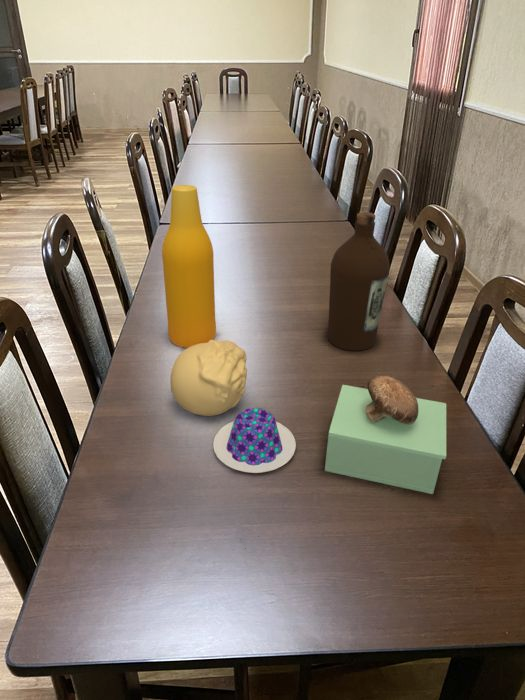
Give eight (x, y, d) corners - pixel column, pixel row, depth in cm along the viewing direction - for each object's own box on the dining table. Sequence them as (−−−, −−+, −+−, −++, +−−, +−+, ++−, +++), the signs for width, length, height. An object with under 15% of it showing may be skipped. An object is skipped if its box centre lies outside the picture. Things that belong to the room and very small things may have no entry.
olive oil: (314, 342, 105) (325, 216, 92) (338, 321, 112) (351, 202, 99) (365, 359, 100) (383, 228, 87) (386, 335, 107) (406, 212, 94)
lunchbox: (434, 439, 81) (442, 406, 77) (433, 494, 71) (442, 459, 68) (338, 420, 84) (342, 388, 81) (324, 471, 74) (328, 436, 71)
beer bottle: (220, 327, 109) (216, 182, 94) (210, 351, 101) (204, 196, 86) (175, 324, 110) (165, 179, 95) (162, 347, 102) (149, 193, 87)
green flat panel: (445, 406, 77) (446, 403, 77) (445, 459, 68) (446, 456, 67) (342, 387, 81) (342, 384, 80) (328, 435, 71) (328, 432, 71)
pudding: (288, 483, 72) (290, 453, 70) (203, 469, 74) (201, 440, 72) (301, 427, 82) (303, 399, 80) (225, 416, 84) (224, 389, 82)
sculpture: (234, 431, 81) (234, 372, 76) (161, 417, 84) (155, 359, 78) (255, 389, 91) (256, 334, 85) (188, 378, 93) (185, 323, 88)
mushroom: (349, 409, 70) (380, 372, 68) (352, 395, 78) (380, 362, 76) (398, 448, 69) (431, 412, 68) (396, 430, 77) (425, 398, 75)
